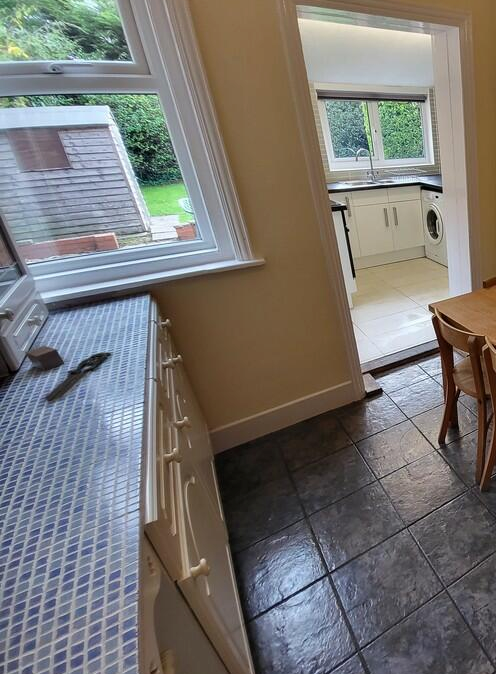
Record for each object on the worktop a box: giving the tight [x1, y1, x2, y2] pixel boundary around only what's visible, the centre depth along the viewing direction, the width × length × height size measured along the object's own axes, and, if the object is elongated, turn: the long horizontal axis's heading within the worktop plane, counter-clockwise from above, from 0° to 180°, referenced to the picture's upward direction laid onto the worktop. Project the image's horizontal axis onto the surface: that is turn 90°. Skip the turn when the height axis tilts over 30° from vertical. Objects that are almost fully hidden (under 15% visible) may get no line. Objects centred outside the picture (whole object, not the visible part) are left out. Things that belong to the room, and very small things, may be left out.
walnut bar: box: [24, 345, 65, 372], centre depth 112 cm, size 7×4×4 cm, turn 66°
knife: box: [45, 351, 112, 405], centre depth 105 cm, size 25×6×1 cm, turn 16°
